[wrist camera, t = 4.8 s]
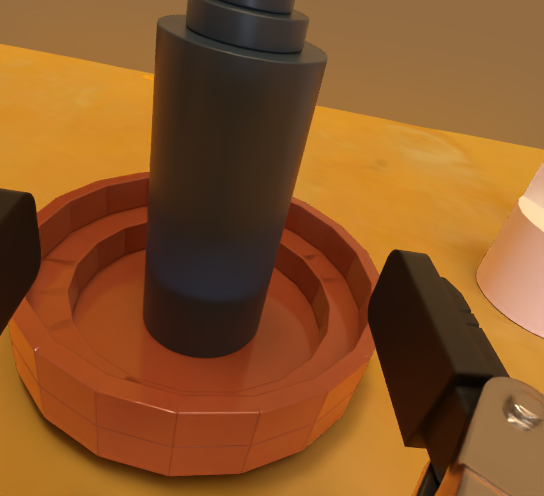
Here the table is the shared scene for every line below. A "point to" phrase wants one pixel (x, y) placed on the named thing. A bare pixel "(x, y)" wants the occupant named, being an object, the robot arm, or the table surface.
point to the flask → (223, 166)
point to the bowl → (180, 368)
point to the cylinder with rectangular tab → (519, 261)
